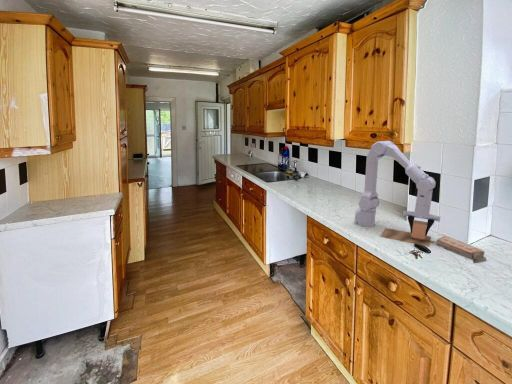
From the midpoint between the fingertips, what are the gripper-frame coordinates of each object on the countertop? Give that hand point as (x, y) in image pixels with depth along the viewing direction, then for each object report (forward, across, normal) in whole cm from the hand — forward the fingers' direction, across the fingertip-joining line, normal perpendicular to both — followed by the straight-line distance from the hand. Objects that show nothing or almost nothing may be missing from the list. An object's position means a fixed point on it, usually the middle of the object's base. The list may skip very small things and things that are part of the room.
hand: (418, 233), depth 137 cm
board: (+4, -5, 0) cm, 6 cm away
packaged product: (+4, +15, -4) cm, 16 cm away
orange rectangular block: (+1, 0, 0) cm, 1 cm away
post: (+3, 0, 0) cm, 3 cm away
